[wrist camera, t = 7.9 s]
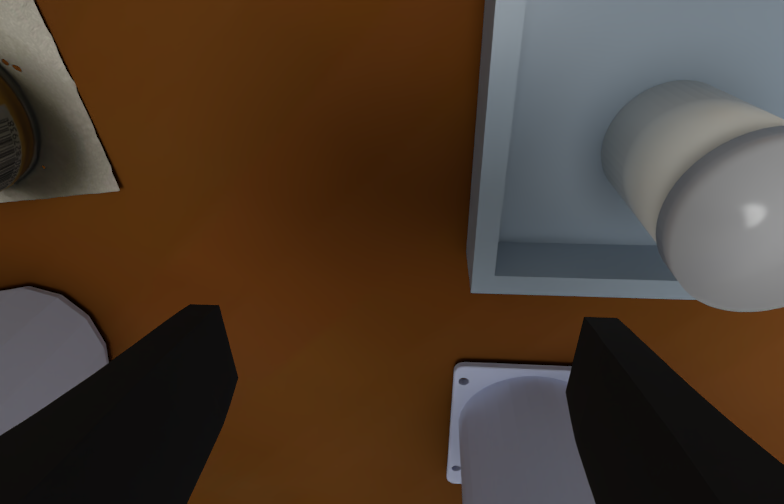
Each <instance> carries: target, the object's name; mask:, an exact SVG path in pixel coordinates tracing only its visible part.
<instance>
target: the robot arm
mask: <svg viewBox="0 0 784 504" xmlns="http://www.w3.org/2000/svg"><path fill="white" fill-rule="evenodd" d="M461 378H467V379H461ZM237 380H238V376H237V372H236V368H235V364H234V360H233V357H232V353H231V349H230V345H229V341H228V338H227V334H226V330H225V326H224V323H223V319H222V315H221V311H220V307H219V305H192V304H190V305H188V306H187V307H185V308H184V309H182V310H181V311H179V312H178V313H176V314H175V315H174V316H172V317H171V318H169V319H168V320H167V321H165V322H164V323H162V324H161V325H160V326H158V327H157V328H156V329H154V330H153V331H152V332H150V333H149V334H148V335H146V336H145V337H143V338H142V339H141V340H139V341H138V342H137V343H135V344H134V345H133V346H131V347H130V348H128V349H127V350H126V351H124V352H123V353H122V354H120V355H119V356H117V357H116V358H115V359H113V360H112V361H111V362H109V363H108V364H106V365H105V366H104V367H102V368H101V369H100V370H98V371H97V372H95V373H94V374H93V375H91V376H90V377H88V378H87V379H85V380H84V381H82V382H81V383H79V384H78V385H76V386H75V387H73V388H72V389H71V390H69V391H68V392H66V393H65V394H63V395H62V396H60V397H59V398H57V399H56V400H54V401H53V402H51V403H50V404H48V405H47V406H45V407H44V408H42V409H41V410H39V411H38V412H37V413H35V414H34V415H32V416H30V417H29V418H27V419H26V420H24V421H23V422H21V423H19V424H18V425H16V426H15V427H13V428H11V429H10V430H8V431H7V432H5V433H3V434H2V435H0V504H187V502H188V500H189V498H190V496H191V493H192V491H193V489H194V487H195V485H196V483H197V481H198V479H199V476H200V474H201V472H202V470H203V468H204V466H205V464H206V461H207V459H208V457H209V455H210V453H211V451H212V448H213V446H214V444H215V442H216V440H217V437H218V435H219V433H220V431H221V428H222V426H223V424H224V421H225V418H226V415H227V412H228V409H229V406H230V403H231V400H232V396H233V393H234V390H235V386H236V383H237ZM447 480H448V481H449V482H451V483H455V484H462V501H463V504H784V465H783V464H782V463H781V462H779V461H778V460H777V459H776V458H774V457H773V456H772V455H771V454H769V453H768V452H767V451H766V450H765V449H763V448H762V447H761V446H760V445H758V444H757V443H756V442H755V441H754V440H752V439H751V438H750V437H749V436H747V435H746V434H745V433H744V432H743V431H741V430H740V429H739V428H738V427H737V426H735V425H734V424H733V423H732V422H731V421H730V420H728V419H727V418H726V417H725V416H724V415H723V414H721V413H720V412H719V411H718V410H717V409H716V408H714V407H713V406H712V405H711V404H710V403H709V402H708V401H707V400H705V399H704V398H703V397H702V396H701V395H700V394H699V393H698V392H696V391H695V390H694V389H693V388H692V387H691V386H690V385H689V384H688V383H687V382H685V381H684V380H683V379H682V378H681V377H680V376H679V375H678V374H677V373H676V372H675V371H673V370H672V369H671V368H670V367H669V366H668V365H667V364H666V363H665V362H664V361H663V360H662V359H661V358H660V357H659V356H657V355H656V354H655V353H654V352H653V351H652V350H651V349H650V348H649V347H648V346H647V345H646V344H645V343H644V342H643V341H642V340H640V339H639V338H638V337H637V336H636V335H635V334H634V333H633V332H632V331H631V330H630V329H629V328H628V327H627V326H625V325H624V324H623V323H622V322H621V321H620V320H619V319H617V318H596V317H584V320H583V324H582V328H581V332H580V336H579V340H578V344H577V348H576V352H575V356H574V360H573V364H572V366H553V365H528V364H504V363H480V362H460V363H458V364H456V365H455V367H454V373H453V388H452V402H451V417H450V431H449V445H448V460H447Z"/></svg>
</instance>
